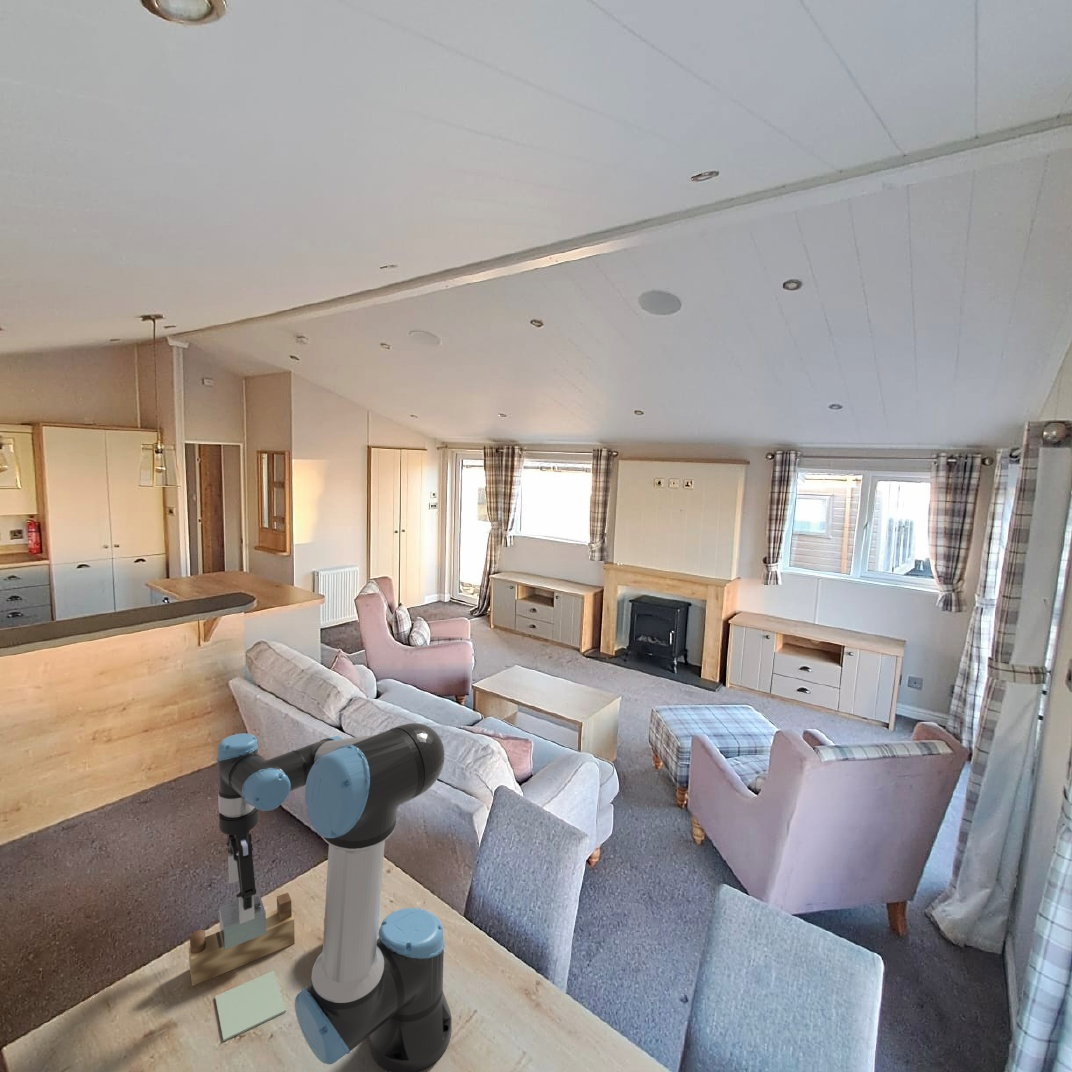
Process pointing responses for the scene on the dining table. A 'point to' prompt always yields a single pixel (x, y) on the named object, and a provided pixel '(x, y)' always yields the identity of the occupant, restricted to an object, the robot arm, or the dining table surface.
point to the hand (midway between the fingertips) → (241, 899)
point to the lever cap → (245, 931)
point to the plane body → (240, 945)
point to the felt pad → (249, 1005)
